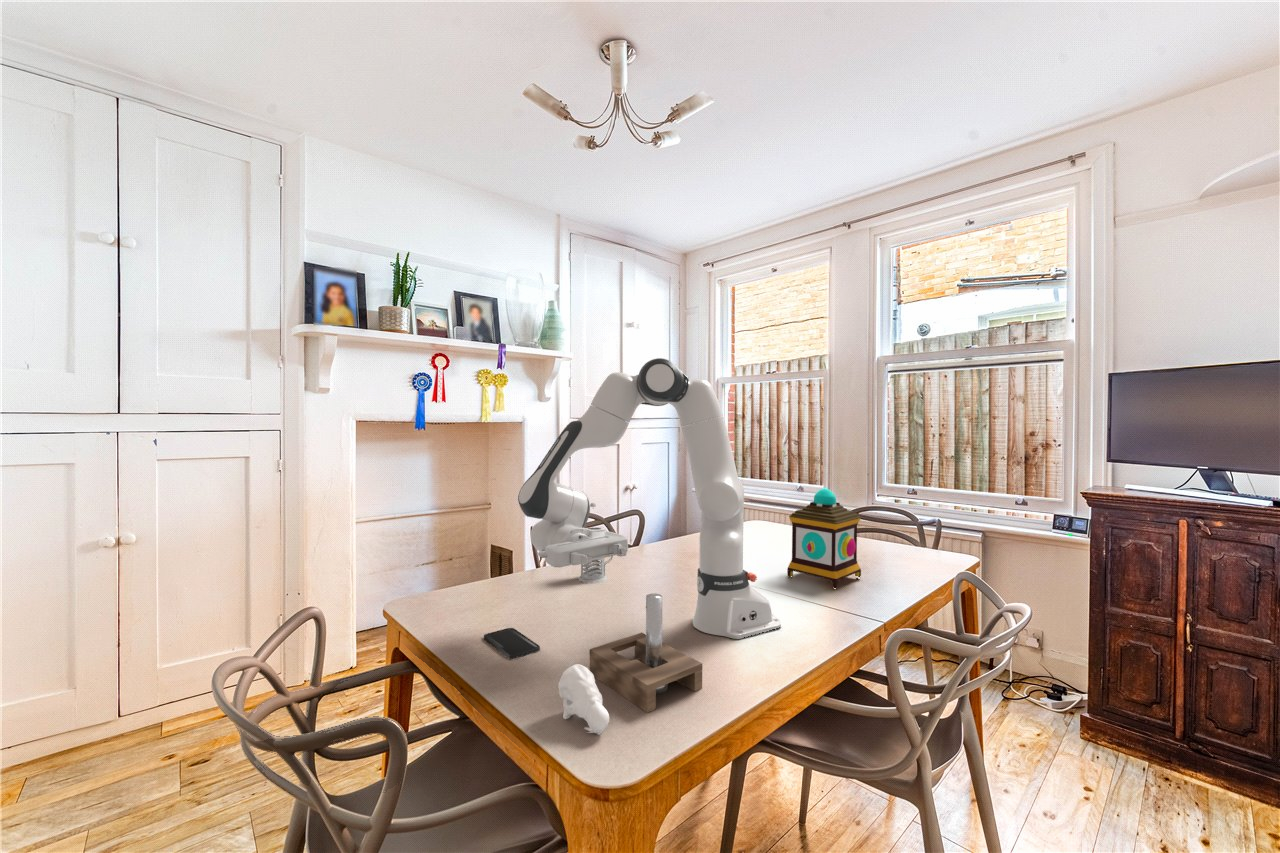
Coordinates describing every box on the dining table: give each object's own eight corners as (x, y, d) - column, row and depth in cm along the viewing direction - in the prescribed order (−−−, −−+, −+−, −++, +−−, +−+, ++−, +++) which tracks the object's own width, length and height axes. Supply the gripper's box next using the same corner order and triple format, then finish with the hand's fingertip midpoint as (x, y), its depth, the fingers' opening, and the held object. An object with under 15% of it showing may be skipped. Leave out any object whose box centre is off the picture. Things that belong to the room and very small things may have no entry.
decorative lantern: (780, 577, 178) (781, 487, 177) (811, 566, 192) (812, 482, 191) (838, 592, 163) (839, 494, 163) (867, 579, 177) (868, 488, 176)
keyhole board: (589, 672, 112) (589, 649, 111) (641, 654, 120) (641, 632, 120) (647, 712, 97) (647, 685, 97) (702, 688, 106) (702, 663, 105)
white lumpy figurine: (586, 656, 100) (621, 689, 90) (584, 699, 101) (618, 736, 91) (556, 665, 96) (589, 700, 87) (553, 709, 97) (586, 749, 87)
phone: (512, 627, 134) (541, 647, 122) (512, 631, 134) (541, 652, 122) (481, 635, 129) (509, 656, 117) (481, 639, 129) (509, 661, 117)
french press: (577, 574, 180) (578, 500, 180) (612, 573, 182) (612, 500, 181) (577, 583, 171) (577, 505, 170) (614, 582, 172) (614, 505, 171)
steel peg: (661, 677, 110) (662, 590, 109) (672, 690, 105) (672, 599, 104) (635, 681, 108) (636, 593, 108) (645, 695, 103) (645, 602, 102)
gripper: (534, 539, 122) (565, 550, 111) (607, 526, 135) (642, 535, 124) (534, 566, 122) (566, 580, 111) (607, 551, 135) (642, 562, 124)
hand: (606, 556), depth 118 cm, fingers open, 8 cm apart
